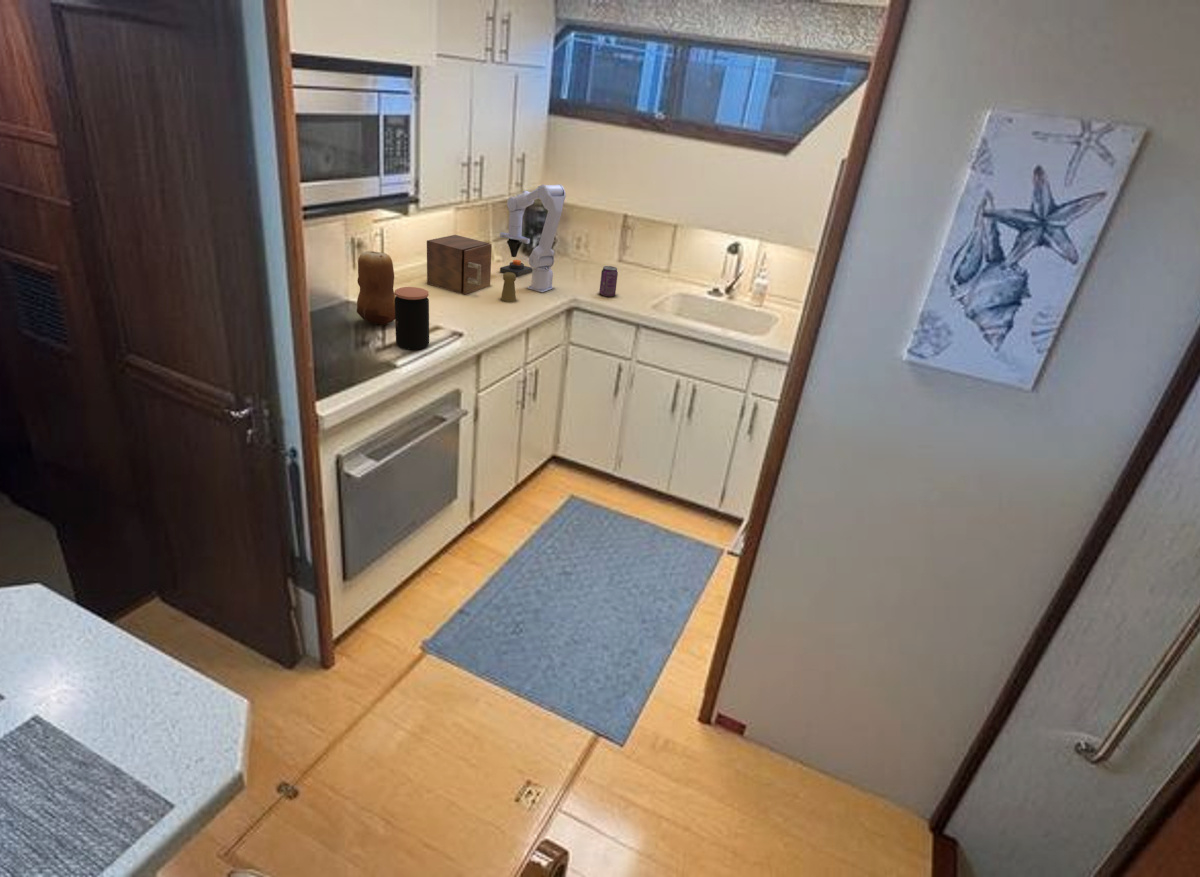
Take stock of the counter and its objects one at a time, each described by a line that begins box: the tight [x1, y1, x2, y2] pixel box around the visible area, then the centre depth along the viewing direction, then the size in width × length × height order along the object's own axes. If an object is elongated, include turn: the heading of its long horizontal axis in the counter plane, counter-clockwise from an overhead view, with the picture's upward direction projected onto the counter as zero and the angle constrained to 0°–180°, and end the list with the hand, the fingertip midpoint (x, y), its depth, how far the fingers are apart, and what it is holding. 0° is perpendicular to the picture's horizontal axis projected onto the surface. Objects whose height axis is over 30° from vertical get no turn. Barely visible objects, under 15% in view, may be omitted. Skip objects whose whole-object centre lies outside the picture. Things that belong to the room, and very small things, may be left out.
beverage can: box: [598, 265, 619, 297], centre depth 300 cm, size 7×7×12 cm
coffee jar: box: [394, 286, 430, 351], centre depth 224 cm, size 11×11×18 cm
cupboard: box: [426, 234, 490, 294], centre depth 288 cm, size 18×18×18 cm
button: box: [512, 259, 522, 265], centre depth 317 cm, size 4×4×2 cm
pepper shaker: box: [500, 272, 517, 303], centre depth 279 cm, size 6×6×11 cm
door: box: [462, 243, 493, 295], centre depth 284 cm, size 7×18×18 cm, turn 154°
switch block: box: [499, 261, 532, 278], centre depth 319 cm, size 12×10×4 cm
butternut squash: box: [356, 250, 396, 326], centre depth 236 cm, size 14×13×25 cm
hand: (513, 256), depth 308 cm, fingers closed
